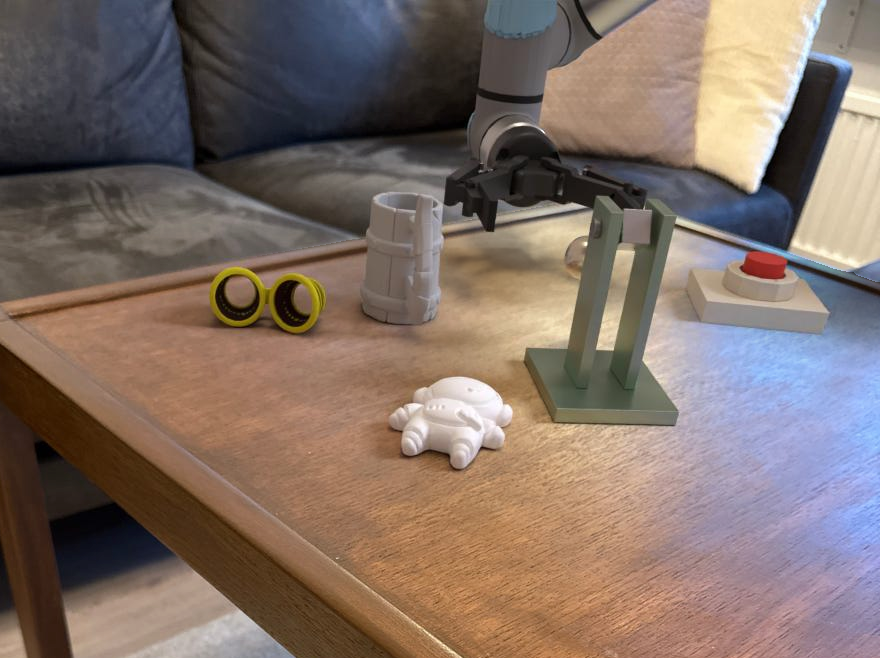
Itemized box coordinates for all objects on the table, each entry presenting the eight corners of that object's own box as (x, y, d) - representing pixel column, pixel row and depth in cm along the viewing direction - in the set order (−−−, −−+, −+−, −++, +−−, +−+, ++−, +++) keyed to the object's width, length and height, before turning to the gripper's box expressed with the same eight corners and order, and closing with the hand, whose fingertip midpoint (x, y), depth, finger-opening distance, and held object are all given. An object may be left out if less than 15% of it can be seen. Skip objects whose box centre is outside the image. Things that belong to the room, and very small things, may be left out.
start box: (797, 299, 105) (809, 261, 102) (821, 334, 97) (836, 294, 94) (685, 288, 105) (694, 250, 102) (700, 322, 97) (711, 282, 94)
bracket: (523, 360, 86) (552, 180, 77) (633, 363, 87) (674, 186, 78) (554, 422, 77) (591, 226, 68) (676, 425, 78) (728, 233, 69)
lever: (558, 282, 87) (560, 239, 86) (597, 284, 87) (600, 241, 86) (612, 250, 73) (615, 199, 72) (658, 253, 73) (662, 201, 73)
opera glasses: (325, 327, 91) (328, 270, 88) (317, 337, 86) (320, 277, 84) (222, 316, 91) (222, 259, 89) (208, 325, 86) (208, 265, 84)
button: (776, 271, 100) (782, 253, 99) (786, 284, 97) (791, 266, 96) (737, 267, 100) (742, 249, 99) (745, 280, 97) (750, 262, 96)
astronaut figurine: (367, 447, 71) (369, 409, 69) (429, 388, 80) (432, 352, 78) (479, 478, 69) (485, 439, 67) (530, 413, 78) (537, 377, 76)
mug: (427, 295, 97) (439, 164, 90) (460, 343, 88) (477, 202, 81) (351, 296, 95) (358, 162, 88) (378, 344, 86) (387, 201, 79)
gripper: (622, 204, 111) (682, 267, 95) (403, 192, 108) (427, 255, 91) (637, 131, 106) (703, 184, 90) (409, 116, 103) (435, 168, 87)
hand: (564, 220), depth 91 cm, fingers open, 13 cm apart
